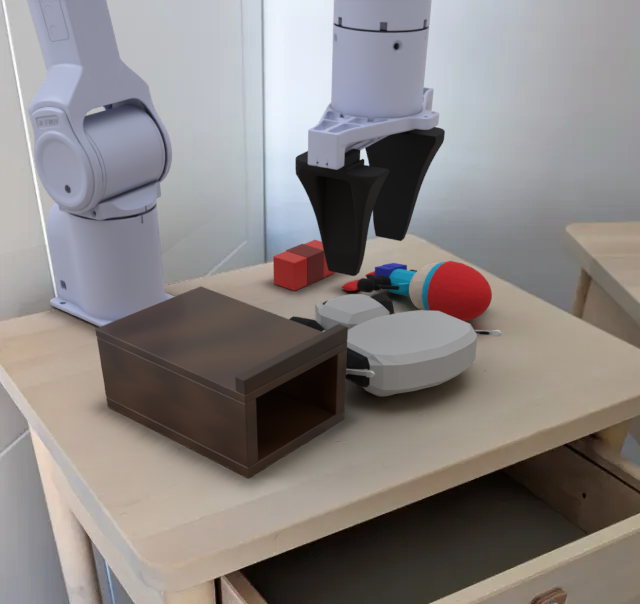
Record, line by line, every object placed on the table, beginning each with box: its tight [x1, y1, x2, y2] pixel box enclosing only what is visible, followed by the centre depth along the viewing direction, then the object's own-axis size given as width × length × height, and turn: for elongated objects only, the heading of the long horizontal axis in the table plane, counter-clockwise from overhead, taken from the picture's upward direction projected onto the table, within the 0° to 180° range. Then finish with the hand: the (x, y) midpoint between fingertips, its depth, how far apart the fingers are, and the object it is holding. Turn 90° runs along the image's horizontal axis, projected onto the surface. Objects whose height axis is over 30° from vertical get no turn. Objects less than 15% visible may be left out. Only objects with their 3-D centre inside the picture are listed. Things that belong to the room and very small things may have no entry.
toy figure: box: [341, 260, 493, 322], centre depth 75 cm, size 8×5×15 cm
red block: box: [273, 239, 336, 292], centre depth 80 cm, size 3×7×3 cm, turn 140°
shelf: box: [94, 285, 348, 479], centre depth 59 cm, size 14×10×7 cm
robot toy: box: [288, 293, 503, 397], centre depth 66 cm, size 12×4×15 cm
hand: (367, 254), depth 59 cm, fingers open, 7 cm apart
